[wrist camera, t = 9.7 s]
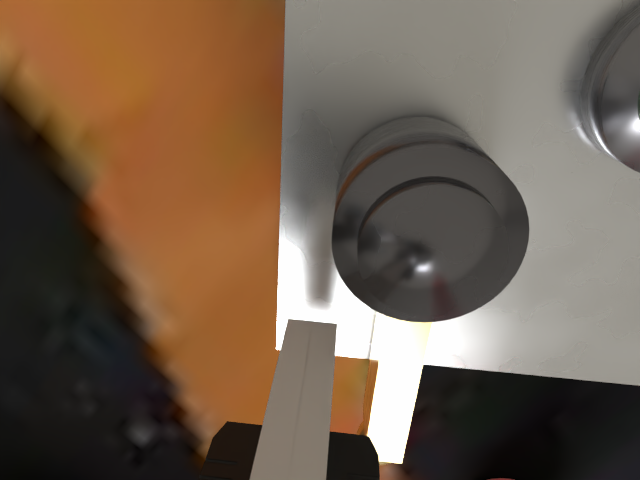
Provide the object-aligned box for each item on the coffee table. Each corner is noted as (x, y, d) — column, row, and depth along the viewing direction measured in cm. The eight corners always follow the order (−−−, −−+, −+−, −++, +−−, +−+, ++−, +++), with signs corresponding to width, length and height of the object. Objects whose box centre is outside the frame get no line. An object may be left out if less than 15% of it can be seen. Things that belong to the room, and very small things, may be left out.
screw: (343, 110, 12) (338, 147, 9) (508, 123, 12) (566, 166, 9) (317, 412, 17) (308, 509, 14) (433, 424, 17) (452, 525, 14)
